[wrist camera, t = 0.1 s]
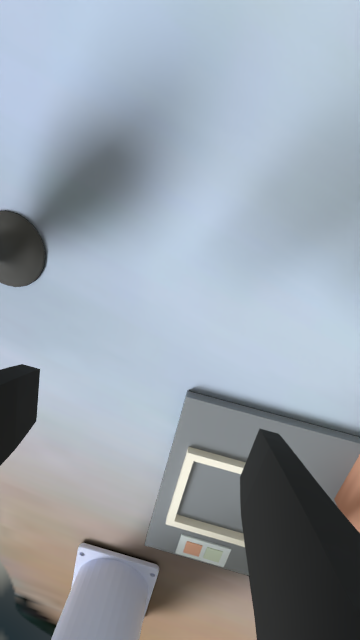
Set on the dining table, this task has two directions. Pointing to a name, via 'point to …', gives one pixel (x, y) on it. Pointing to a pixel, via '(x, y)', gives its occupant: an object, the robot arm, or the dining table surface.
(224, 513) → the grey board
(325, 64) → the dining table surface
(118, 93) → the dining table surface
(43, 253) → the sundae
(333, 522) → the robot arm
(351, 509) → the terracotta block
